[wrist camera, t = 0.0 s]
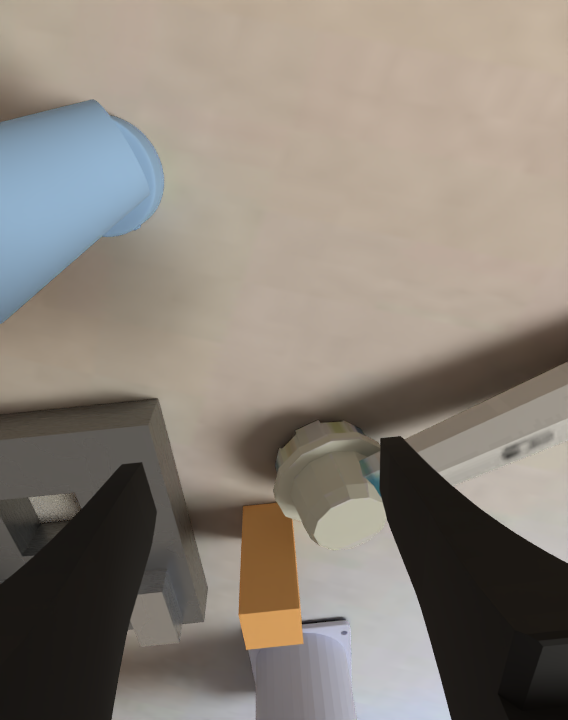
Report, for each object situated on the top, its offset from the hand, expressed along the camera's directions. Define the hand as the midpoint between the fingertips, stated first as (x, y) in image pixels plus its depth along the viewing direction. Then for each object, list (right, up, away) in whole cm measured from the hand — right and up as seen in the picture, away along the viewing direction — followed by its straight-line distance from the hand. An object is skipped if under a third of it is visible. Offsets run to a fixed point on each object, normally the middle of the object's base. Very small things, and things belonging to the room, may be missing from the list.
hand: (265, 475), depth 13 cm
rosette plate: (-13, -6, +14) cm, 20 cm away
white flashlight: (+12, +2, +12) cm, 17 cm away
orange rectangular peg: (0, -7, +15) cm, 16 cm away
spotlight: (-7, +11, +5) cm, 14 cm away
